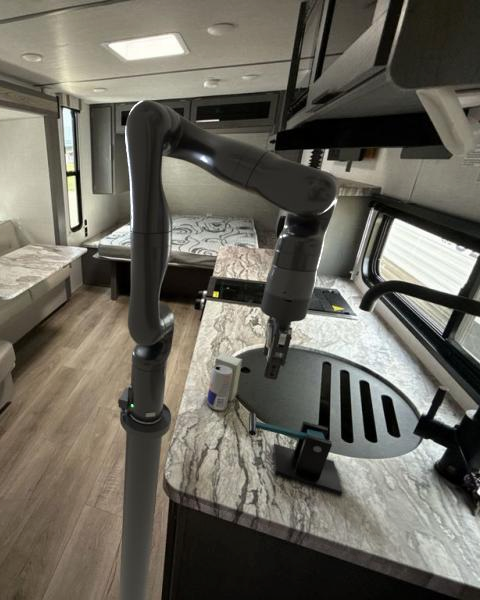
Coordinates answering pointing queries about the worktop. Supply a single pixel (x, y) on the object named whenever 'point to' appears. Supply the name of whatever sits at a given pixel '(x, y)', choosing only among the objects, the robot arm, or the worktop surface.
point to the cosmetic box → (236, 366)
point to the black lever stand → (308, 461)
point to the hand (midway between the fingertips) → (269, 366)
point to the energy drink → (219, 386)
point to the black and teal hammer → (279, 429)
